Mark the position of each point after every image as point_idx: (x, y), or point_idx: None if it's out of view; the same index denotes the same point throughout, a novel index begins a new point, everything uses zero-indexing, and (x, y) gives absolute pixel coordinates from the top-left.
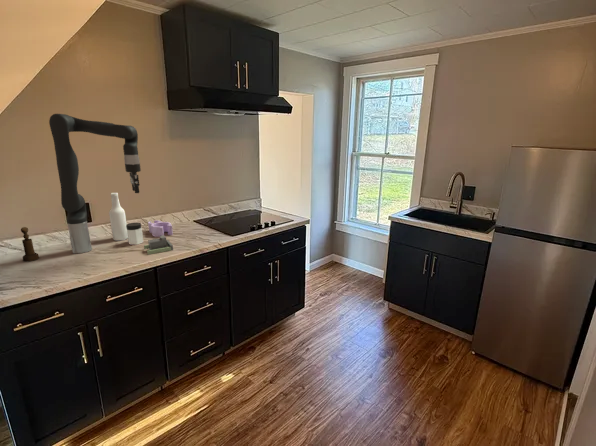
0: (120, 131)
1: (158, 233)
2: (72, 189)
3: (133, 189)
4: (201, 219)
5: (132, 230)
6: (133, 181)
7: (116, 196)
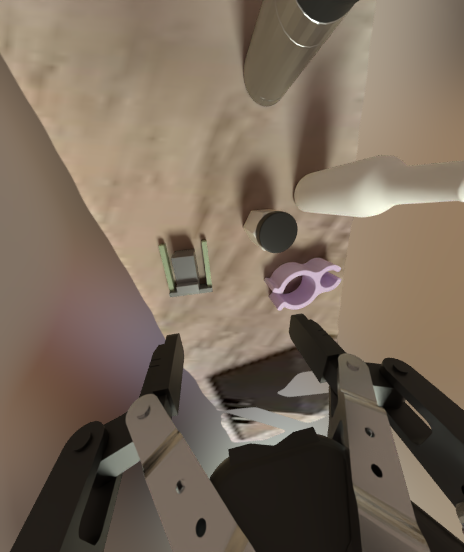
0: None
1: (275, 276)
2: None
3: (297, 324)
4: None
5: (256, 225)
6: (152, 488)
7: (454, 190)
